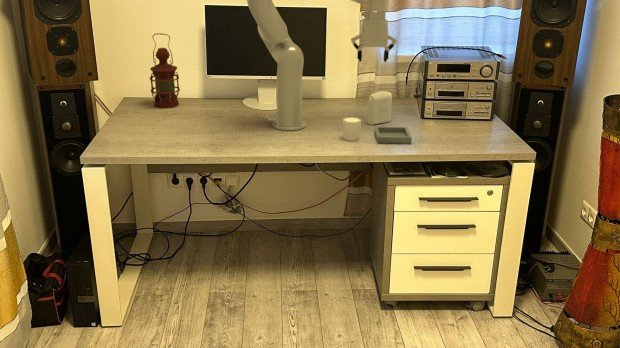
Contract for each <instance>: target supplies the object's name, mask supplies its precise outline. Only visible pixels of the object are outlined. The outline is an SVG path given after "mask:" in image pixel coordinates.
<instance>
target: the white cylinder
mask: <svg viewBox="0 0 620 348" xmlns="http://www.w3.org/2000/svg"><path fill="white" fill-rule="evenodd" d="M361 126H362V119H361V118H358V117H352V116H351V117H349V116H348V117H344V118H342V133H343V139H344V140H346V141H353V142H354V141H359V139H360V135H361V134H360V133H361Z"/></svg>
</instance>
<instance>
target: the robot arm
mask: <svg viewBox="0 0 620 348" xmlns="http://www.w3.org/2000/svg"><path fill="white" fill-rule="evenodd" d="M350 1H352V2H355V3H357V4H359V5H363V4H364V5H365V10H364V11H361V12H360V13H361V14H360V15H361V16H362V17H364V18H362V23H361V29H360V33H359V34H358V35H355V36H353V37H352V38H350V41H351V44H352V46H353V47H354V48H355V50H357V53H356V54H357V57H356V58H357V60H358V61H359V62H362V57H363V51H362V49H363V48H364V47H365V48H384V50H383V62H384V63H387V60H389V55H390V54H389V52H390V51H391V50H392V49H393V48H394V47H395V45H396V43H397V41H398V40H397V39H396V38H395V37H393V36H391V35H389V25H388V19H386V15H387V13H386V12H387V0H350ZM246 3H247V6H248V9H249V10H250V11H249V12H250V13H251V15H252V17H253V19H254V20H255V23H256V24H257V31H258V34H259V36H260V38H261V40H262V42H263V43H264V45H265V47H266V48H267V50H268V52H269V53H270V55H271V56H272V58H273V59H274V61H275V62H276V63H277V69H276V71H277V72H276V113H275V114H265V115H264V116H265V121H268V122H273V123H272V126H273V128H275V129H277V130H282V131H299V130H302V129H304V128H305V127H306V126H307V123H306V121H305V120H303V70H304V62H305V59H304V58H305V57H304V53H303V51H302V49H301V48H300V47H299V45H297V44H296V43H294V42H293V40H292V38H291V37H290V35H289V32H288V27H287V25H286V22H285V21H284V20H283V18H282V17H281V15H280V13H279V12H278V10H277V8H276V6H275V4H274V1H273V0H246ZM358 40H359V41H360V42H359V45H358V44H357V42H356V41H358ZM389 41H391V43H390V44H389V45H388V43H389Z"/></svg>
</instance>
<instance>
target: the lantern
mask: <svg viewBox="0 0 620 348" xmlns="http://www.w3.org/2000/svg"><path fill="white" fill-rule="evenodd" d="M155 35H161V36H167V37H168V38H169V39H168V43H167V47H168V49H169V50H168V49H167V48H166V47H159V48H157V51H156V52H155V50H156V47H157V43H156V41H155V38H154V36H155ZM152 41H153V42H154V49H153V50H152V57H153V61H152V62H153V63H154V66H152V67H150V68H149V69H150V71H151V74H150V77H149V80H150V88H151V89H150V93H151V96H152V97H153V98H154V99H153V100H154V101H153V102H154V103H153V106H154V107H155V108H157V107H158V109H172V108H176V106H177V107H178V106H179V105H180V103H179V98H178V96H179V95H180V94H179V92H180V91H181V89H180V86H179V83H180V82H179V80H180V76H179V73H178V72H177V70H178V67H177V66H175V65H173V64H174V60H173V53H172V50H171V49H170V46H169V43H170V41H171V36H170V35H169V34H167V33H161V32H160V33H154V34H153V35H152ZM155 57H156V58H155ZM170 57H171V59H170V60H169V58H170ZM157 60H158V62H159V63H158V64H156V63H157ZM168 60H169V63H168ZM153 78H154V79H153ZM175 81H176V85H175ZM154 84H155V87H154ZM154 90H155V91H154Z"/></svg>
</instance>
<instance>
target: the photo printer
mask: <svg viewBox="0 0 620 348" xmlns="http://www.w3.org/2000/svg"><path fill="white" fill-rule="evenodd" d="M392 106H393V95H392V93H391V92H389V91H386V90H384V91H383V90H380V91H375V92H373V93H372V94H370V95H369V96H368V99H367V113H366V114H367V115H366V123H367V124H368V125H370V126H371V125H377V124H384V123H388V122H389V123H390V122H391V120H392V109H393V108H392Z"/></svg>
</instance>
